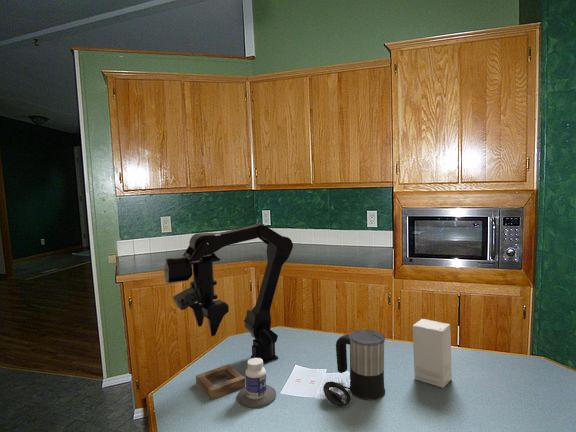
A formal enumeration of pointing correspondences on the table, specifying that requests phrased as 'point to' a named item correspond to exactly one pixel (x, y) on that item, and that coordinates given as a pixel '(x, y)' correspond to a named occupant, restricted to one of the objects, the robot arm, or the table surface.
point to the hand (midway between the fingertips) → (206, 330)
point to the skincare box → (432, 352)
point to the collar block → (221, 389)
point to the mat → (257, 403)
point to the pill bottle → (255, 379)
